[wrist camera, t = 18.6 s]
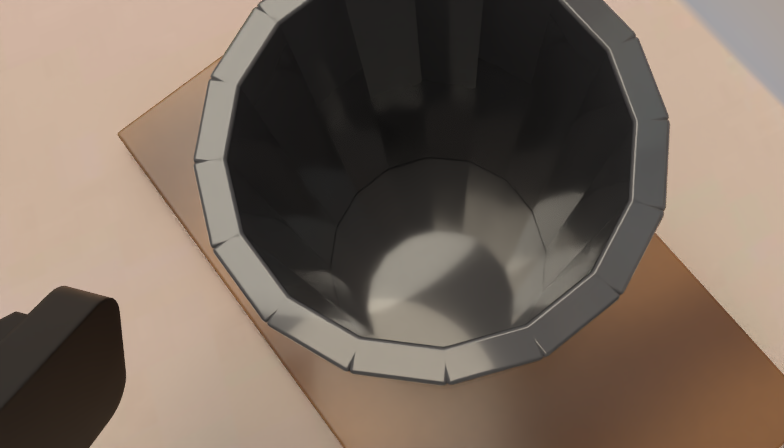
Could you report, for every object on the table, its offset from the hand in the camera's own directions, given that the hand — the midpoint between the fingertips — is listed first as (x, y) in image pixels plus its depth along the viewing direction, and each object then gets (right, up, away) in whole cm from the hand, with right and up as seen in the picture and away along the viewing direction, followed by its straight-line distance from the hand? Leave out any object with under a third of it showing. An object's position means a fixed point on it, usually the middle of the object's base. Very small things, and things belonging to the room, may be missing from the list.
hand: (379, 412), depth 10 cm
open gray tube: (+1, +2, +8) cm, 8 cm away
